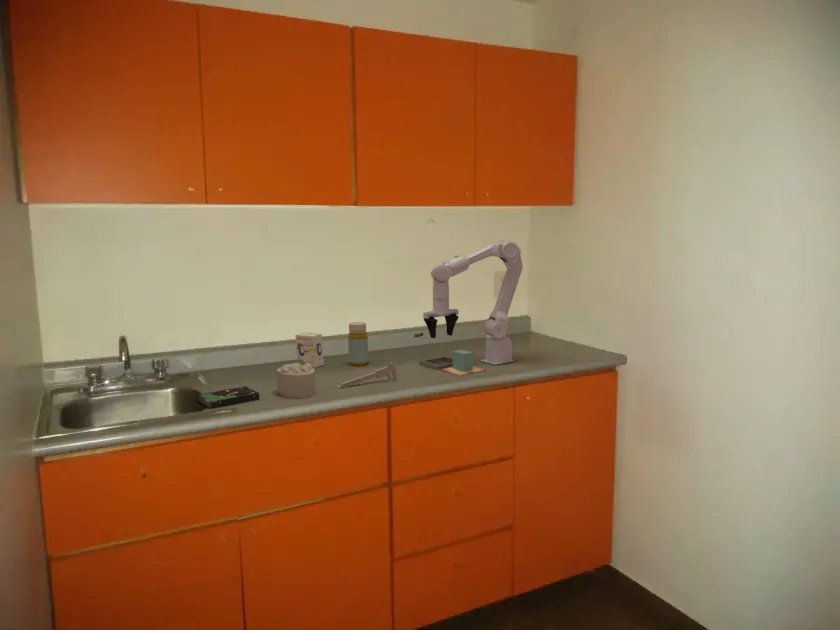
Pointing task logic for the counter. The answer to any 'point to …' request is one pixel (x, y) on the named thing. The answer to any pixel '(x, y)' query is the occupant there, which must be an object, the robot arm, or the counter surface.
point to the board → (461, 373)
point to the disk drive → (228, 397)
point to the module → (463, 360)
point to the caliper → (373, 376)
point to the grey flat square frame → (439, 359)
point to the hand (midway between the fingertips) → (441, 336)
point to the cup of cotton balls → (296, 380)
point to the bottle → (358, 344)
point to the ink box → (309, 349)
